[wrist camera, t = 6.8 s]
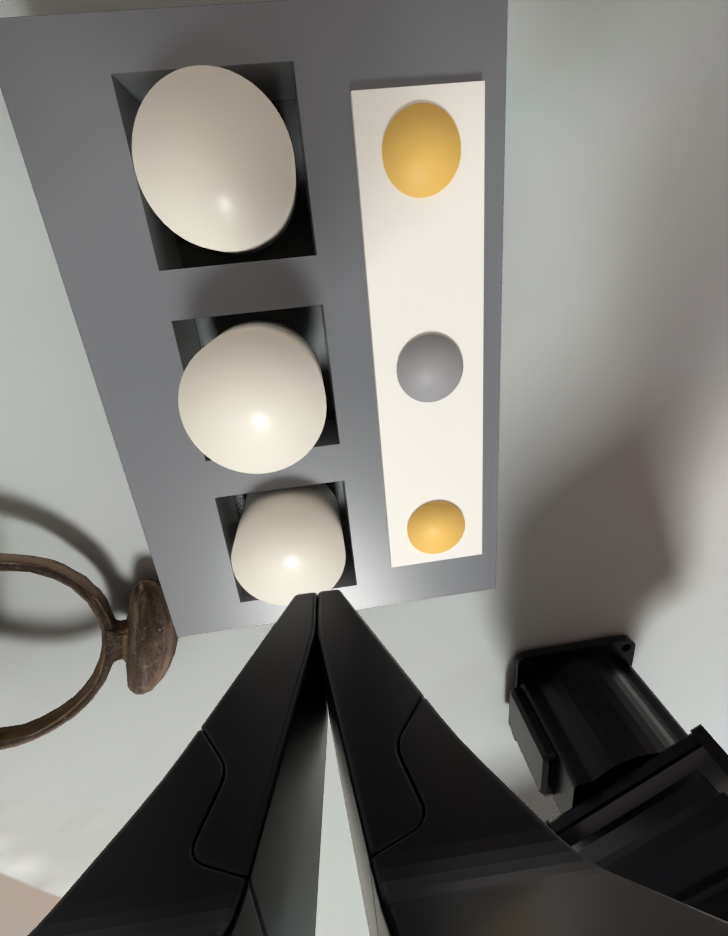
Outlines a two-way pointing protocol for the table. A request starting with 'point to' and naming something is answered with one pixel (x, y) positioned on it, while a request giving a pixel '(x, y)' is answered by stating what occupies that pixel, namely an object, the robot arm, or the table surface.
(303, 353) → the button middle
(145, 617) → the brown mug
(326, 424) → the button panel
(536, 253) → the table surface
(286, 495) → the button
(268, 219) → the button
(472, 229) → the pattern card
